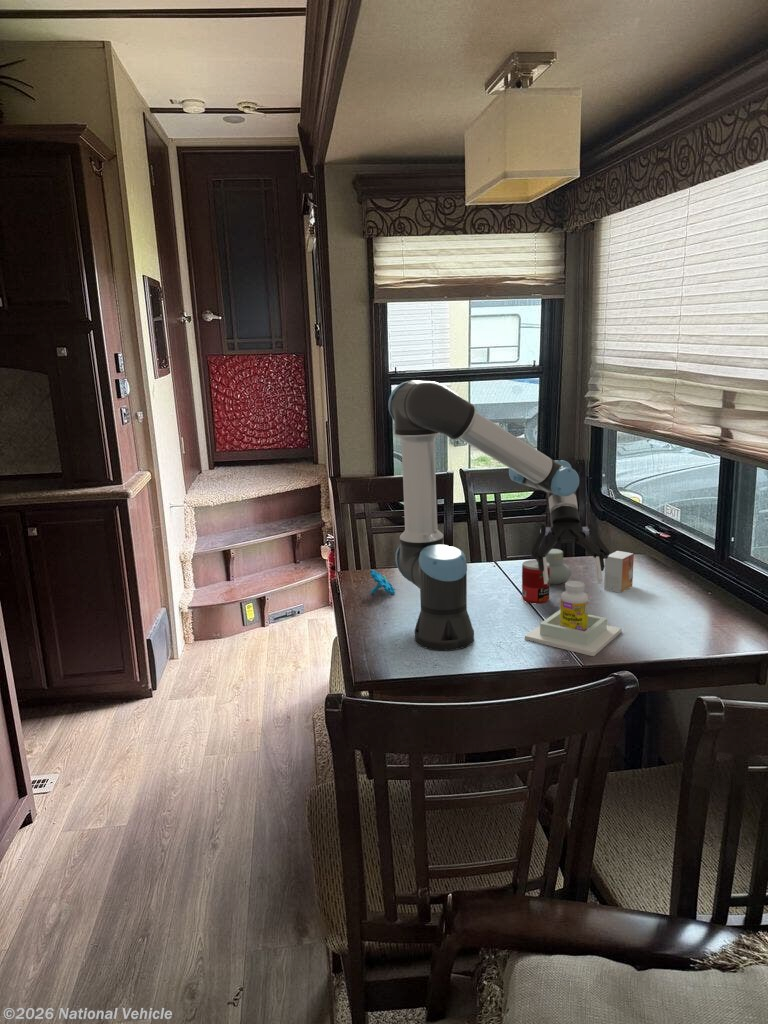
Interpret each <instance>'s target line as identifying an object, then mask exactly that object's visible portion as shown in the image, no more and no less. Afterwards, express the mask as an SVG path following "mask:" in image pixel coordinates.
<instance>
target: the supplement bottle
mask: <svg viewBox="0 0 768 1024" xmlns="http://www.w3.org/2000/svg"><path fill="white" fill-rule="evenodd" d="M564 584H565V586H564V588H565V591H563V592H562V593H561V595H560V609H561V614H560V626H563V627H567V628H571V629H576V630H580V631H586V630H587V625H588V614H589V612H588V611H589V596H588V594H587V593H586V592H584V591H585V589H586V588H585V586H586V585H585V583H584V582H583V581H579V580H567V581H565V582H564Z"/></svg>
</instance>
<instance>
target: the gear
mask: <svg viewBox="0 0 768 1024" xmlns="http://www.w3.org/2000/svg"><path fill="white" fill-rule="evenodd" d="M370 576H371V577H372V578H373V581H374V582H376V586H375V587H374V588H373V589H372V590H371V591H370V593H371V594H372V595H374V594H375V593H376V592H377V591H378V590H379V589H381V588H383V591H385V592H386V593H388V594H390V595H395V593H396V591H395V588H394V587H393V584H392V583H391V582H389V581H388V579H387V577H386V575H383V576H382V573H380V572H378V571H377V570H375V569H371V570H370Z"/></svg>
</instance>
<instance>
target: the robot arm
mask: <svg viewBox="0 0 768 1024" xmlns="http://www.w3.org/2000/svg"><path fill="white" fill-rule="evenodd" d="M388 412H389V414H390V416H391V419H393V421H394V434H395V436H396V437H397V438H398V439H399V440H400V442H401V461H402V462H401V464H402V465H401V466H402V481H403V482H402V487H403V489H402V490H403V491H402V492H403V510H404V511H403V513H404V514H403V515H404V530H403V532H402V533H401V534H400V535H399V546H398V547H397V549H396V552H395V565H396V567H397V569H398V571H399V572H400V574H401V576H403V577H404V578H405V580H407V581H409V582H410V583H412V584H413V585H415V586H416V587H417V588H419V591H420V593H419V596H420V597H419V598H420V599H419V600H420V612H419V615H418V619H417V621H416V625H415V628H414V642H415V643H416V644H417V645H418V646H420V647H422V648H425V649H428V650H433V651H455V650H461V649H463V648H467V647H469V646H471V644H473V643H474V641H475V630H474V628H473V625H472V621H471V618H470V616H469V613H468V609H467V608H468V607H467V606H468V604H467V602H468V599H467V597H468V595H467V593H468V592H467V591H468V589H467V588H468V587H467V586H468V585H467V578H468V577H467V575H468V574H467V572H468V565H467V558H466V557H467V556H466V555H465V553H464V552H463V550H461V549H459V548H458V547H456V546H453V545H452V546H449V545H448V544H444V534H443V533H442V532H441V531H440V530H439V529H438V511H437V509H438V508H437V483H436V482H437V481H436V479H437V478H436V476H437V475H436V447H435V444H436V443H435V440H436V438H437V437H438V436H439V435H440V434H442V435H444V436H446V437H448V438H449V439H451V440H455V441H456V440H461V441H463V442H465V443H466V444H468V445H470V446H471V447H472V448H475V449H476V450H478V451H480V452H482V453H483V454H485V455H487V456H489V457H490V458H491V459H493V460H495V461H497V462H498V463H500V464H501V465H503V466H505V467H506V468H508V475H509V478H510V480H511V481H513V482H515V483H518V484H519V485H523V486H526V487H529V488H530V487H531V488H533V489H536V490H539V491H542V492H545V493H547V499H548V504H549V505H548V506H549V507H548V508H549V513H550V515H549V517H550V523H551V526H546V525H545V524H541V526H540V530H539V532H540V533H539V534H538V537H537V539H536V541H535V544H534V546H533V548H532V550H531V553H530V559H531V560H537V562H538V568H539V571H543V578H544V584H547V583H548V571H547V562H546V557H545V556H546V555H547V554H548V553H549V551H550V550H551V549H554V547H555V546H556V545H557V544H558V542H560V543H561V544H566V543H569V544H574V543H576V544H577V545H578V546H581V547H582V548H583V549H584V550H585V551H586V552H588V554H590V555H591V556H592V557H593V558H594V561H593V562H594V569H595V570H594V571H595V575H596V582H597V584H598V585H599V584H602V582H603V573H602V572H603V571H605V559H607V558H608V556H609V555H610V554H611V552H610V550H609V548H607V546H606V545H605V544H604V543H603V541H602V540H601V538H600V537H599V536H598V534H597V533H596V531H595V529H594V526H593V524H591V523H589V524H588V526H582V525H581V521H580V515H579V507H578V500H577V499H578V498H577V495H576V494H577V493H576V491H577V490H578V488H579V485H580V476H579V474H578V472H577V470H575V468H574V469H573V468H572V465H571V463H569V462H568V461H566V460H564V459H561V460H558V459H557V460H554V459H552V458H551V457H549V456H547V455H546V454H545V453H542V452H541V451H540V450H538V449H536V448H535V447H533V446H531V445H530V444H528V443H527V442H525V441H524V440H522V439H520V438H519V437H517V436H516V435H514V434H512V433H511V432H509V431H507V430H506V429H504V428H502V427H501V426H500V425H498V424H497V423H496V422H495V423H494V422H493V421H491V420H490V419H488V418H487V417H485V416H483V415H482V414H480V413H479V412H477V410H476V406H475V405H474V404H472V403H471V402H469V401H467V400H466V399H465V398H464V397H462V396H460V395H459V394H457V393H456V392H454V391H453V390H452V389H450V388H449V387H447V386H446V385H443V384H442V383H439V382H437V381H431V380H418V379H417V380H415V379H412V380H407V381H405V382H401V383H400V384H398V385H397V386H396V387H395V388H394V389H393V390H392V391H391V394H390V395H389V398H388ZM549 533H550V534H551V535H552V538H551V539H550V540H549V541H548V543H546V545H545V546H544V547H543V549H541V551H540V552H539V550H540V547H541V545H542V543H543V542H544V540H545V536H547V535H548V534H549ZM582 533H584V534H585V535H586V536H588V539H590V541H591V542H590V541H589V540H588V539H586V538H585V536H584V535H583V534H582ZM538 552H539V553H538Z"/></svg>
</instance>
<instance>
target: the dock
mask: <svg viewBox="0 0 768 1024" xmlns="http://www.w3.org/2000/svg"><path fill="white" fill-rule="evenodd" d="M560 614H561V608H560V609H559V610H557V611H555V612H554V613H553V614H551V615H550V616H549V617H547V618H545V620H543V621H542V622H539V625H538V626H537V627H535V628H534V629H533V630H531V631H529V632H528V633H526V634H525V635H524V640H525V641H529V640H530V641H529V642H533V641H534V642H533V643H537V642H538V644H542V645H547V646H548V647H549V646H550V647H555V648H559V649H562V650H566V651H570V652H574V653H578V654H581V655H582V654H583V655H586V656H591V657H595V656H596V655H597V654H598V653H600V652H601V650H603V649H604V648H605V647H606V646H607V645H609V644H610V643H611V642H612V641H613V640H615V638H616V637H617V636H618V635H619V634H621V633H622V627H618V626H614V625H608V618H607V617H603V616H598V615H593V614H589V613H588V625H587V630H586V631H580V630H576V629H571V628H567V627H563V626H560Z"/></svg>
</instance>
